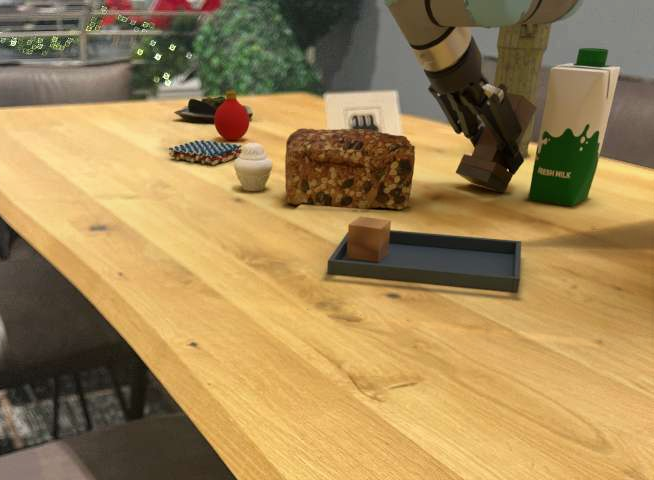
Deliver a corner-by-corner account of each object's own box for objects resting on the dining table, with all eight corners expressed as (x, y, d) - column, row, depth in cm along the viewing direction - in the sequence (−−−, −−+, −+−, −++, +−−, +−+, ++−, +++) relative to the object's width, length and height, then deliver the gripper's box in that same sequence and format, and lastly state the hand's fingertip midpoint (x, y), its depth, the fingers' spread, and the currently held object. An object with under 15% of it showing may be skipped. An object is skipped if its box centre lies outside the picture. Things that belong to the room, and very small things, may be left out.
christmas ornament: (218, 144, 152) (216, 87, 146) (212, 137, 158) (210, 82, 152) (252, 142, 153) (252, 86, 148) (245, 136, 159) (244, 82, 153)
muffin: (227, 190, 121) (225, 142, 117) (245, 182, 125) (244, 136, 121) (262, 195, 119) (262, 146, 115) (278, 187, 123) (279, 140, 119)
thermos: (517, 147, 151) (556, -73, 131) (536, 160, 142) (580, -75, 122) (473, 147, 151) (505, -73, 131) (489, 160, 142) (525, -76, 121)
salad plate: (179, 110, 186) (178, 88, 183) (252, 110, 187) (252, 89, 184) (172, 123, 170) (171, 100, 168) (252, 124, 171) (252, 101, 168)
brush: (504, 193, 122) (545, 109, 117) (487, 182, 118) (528, 95, 114) (472, 183, 126) (510, 102, 122) (455, 172, 123) (493, 88, 119)
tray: (518, 258, 95) (521, 241, 93) (516, 297, 83) (519, 278, 82) (350, 243, 99) (351, 226, 98) (327, 278, 88) (327, 260, 87)
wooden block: (388, 253, 94) (391, 220, 91) (377, 263, 91) (380, 228, 88) (357, 249, 95) (359, 216, 93) (346, 258, 92) (348, 224, 90)
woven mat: (215, 166, 135) (214, 154, 134) (167, 159, 140) (166, 147, 138) (246, 156, 143) (246, 144, 141) (199, 150, 147) (199, 138, 146)
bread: (283, 208, 113) (284, 134, 107) (290, 190, 121) (291, 121, 116) (410, 212, 111) (417, 138, 105) (408, 194, 120) (415, 124, 114)
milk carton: (595, 197, 120) (630, 50, 108) (575, 209, 114) (610, 54, 102) (540, 189, 124) (569, 46, 112) (519, 200, 118) (547, 50, 106)
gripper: (388, 68, 112) (451, 173, 129) (478, 82, 100) (534, 195, 118) (418, 24, 111) (477, 136, 129) (512, 33, 100) (563, 154, 117)
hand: (504, 164), depth 123 cm, fingers closed on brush, 4 cm apart
